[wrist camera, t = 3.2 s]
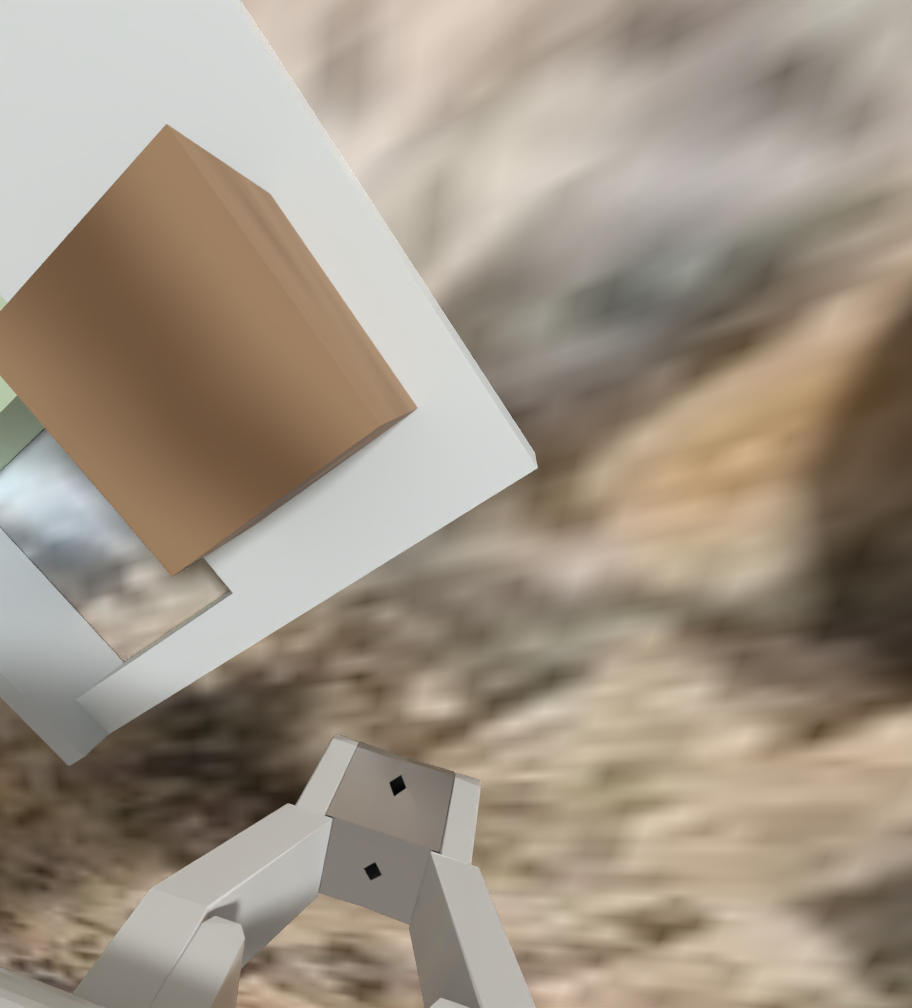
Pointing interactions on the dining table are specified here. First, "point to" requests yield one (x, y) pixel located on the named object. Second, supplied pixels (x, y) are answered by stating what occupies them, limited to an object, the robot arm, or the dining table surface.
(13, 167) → the board
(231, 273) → the walnut block
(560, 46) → the dining table surface
